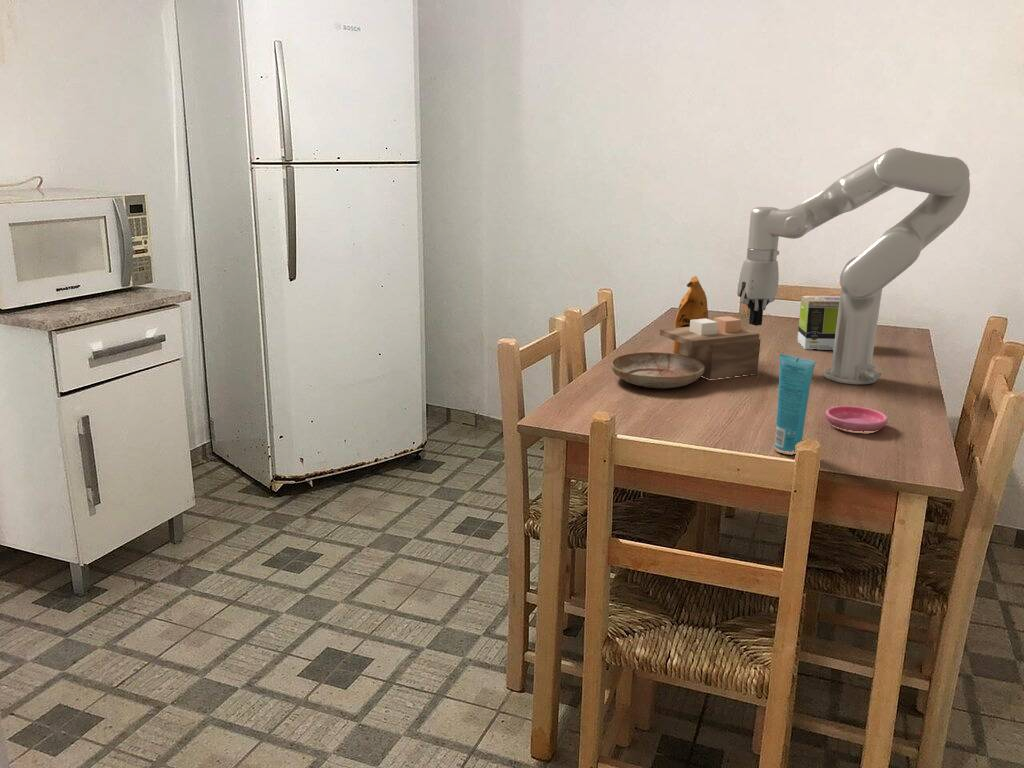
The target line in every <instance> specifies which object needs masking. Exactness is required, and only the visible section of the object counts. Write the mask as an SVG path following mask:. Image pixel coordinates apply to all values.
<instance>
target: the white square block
mask: <svg viewBox="0 0 1024 768" xmlns="http://www.w3.org/2000/svg"><path fill="white" fill-rule="evenodd" d="M717 328H718V322H716V321H714V319H709V318H708V319H706V318H705V319H694V320H690V330H689V331H690V332H693V333H696V334H699V335H708V334H717Z"/></svg>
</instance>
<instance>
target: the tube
mask: <svg viewBox="0 0 1024 768" xmlns="http://www.w3.org/2000/svg"><path fill="white" fill-rule="evenodd" d="M816 362H817V361H816V360H811V359H807V358H801V357H796V356H793V355H788V354H783V353H780V354H779V374H778V375H779V377H778V395H777V409H776V410H777V413H776V425H775V427H776V428H775V438H774V448H775V447H776V448H778V449H780V450H783V451H789V452H790V451H791V452H792V451H793V450H794V452H795V445H796V444H797V443H798V442H800V441H802V442H803V436H804V429H805V422H806V421H805V420H806V414H807V408H808V402H809V401H808V400H809V396H810V390H811V384H812V380H813V376H814V375H813V374H814V371H815V370H814V369H815V367H816V366H815V365H816Z"/></svg>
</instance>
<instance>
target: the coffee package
mask: <svg viewBox="0 0 1024 768" xmlns="http://www.w3.org/2000/svg"><path fill="white" fill-rule="evenodd" d="M686 287H688V288H689V289H688V290H687V292H686V293H685V294H684V296H683V297H682V299H680V303H679V306H678V308H677V310H676V311H677V312H676V313H675V314H676V316H675V320H674V327H673V328H681V327H690V320H694V319H705V318H706V319H709V309H708V299H707V295H706V293H705V290H704V288H703V287H702V285H701V283H700V280H699V278H698V277H697V276H696V275H695V276H692V277H691V278H690V281H689V282H688V283H687V284H686ZM679 347H680V342H677V341H674V340H673V351H672V353H673V354H679Z"/></svg>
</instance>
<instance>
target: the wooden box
mask: <svg viewBox="0 0 1024 768" xmlns="http://www.w3.org/2000/svg"><path fill="white" fill-rule="evenodd" d="M689 330H690V327H681V328H674V327H672V328H661V329H659V336H661V337H663V338H667V339H670V340H672V341H673V342H674V341H677V342H680V347H679V354H680V355H685V356H688V357H692V358H694V359H697V360H699V361H700V362H701V363H702V364H703V365H704V366H705V370H704V373H703V375H702V376H703V377H705V378H708V379H718V378H726V377H735V376H743V375H751V374H757V375H758V370H759V361H760V352H761V351H760V350H761V349H760V348H761V339H760V335H761V334H760V333H758V332H754V331H752V330H749V329H745V328H742V327H741V331H737V332H727V333H724V332H721V331H718V330H717V334H708V335H699V334H696V333H693V332H690V331H689Z"/></svg>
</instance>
